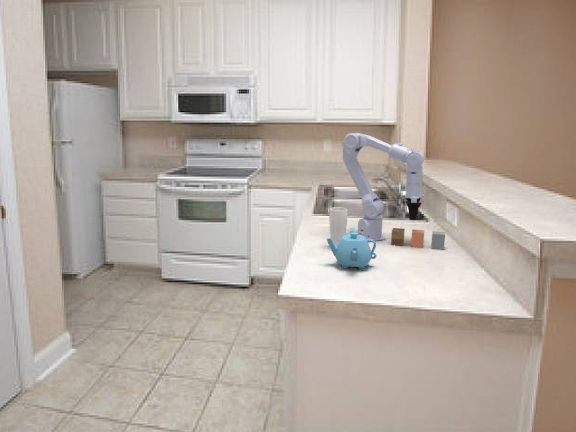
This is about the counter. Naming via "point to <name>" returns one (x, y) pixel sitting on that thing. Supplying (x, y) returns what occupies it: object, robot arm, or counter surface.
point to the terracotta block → (417, 238)
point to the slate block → (438, 240)
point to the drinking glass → (337, 223)
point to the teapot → (353, 250)
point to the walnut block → (397, 237)
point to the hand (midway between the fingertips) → (412, 217)
